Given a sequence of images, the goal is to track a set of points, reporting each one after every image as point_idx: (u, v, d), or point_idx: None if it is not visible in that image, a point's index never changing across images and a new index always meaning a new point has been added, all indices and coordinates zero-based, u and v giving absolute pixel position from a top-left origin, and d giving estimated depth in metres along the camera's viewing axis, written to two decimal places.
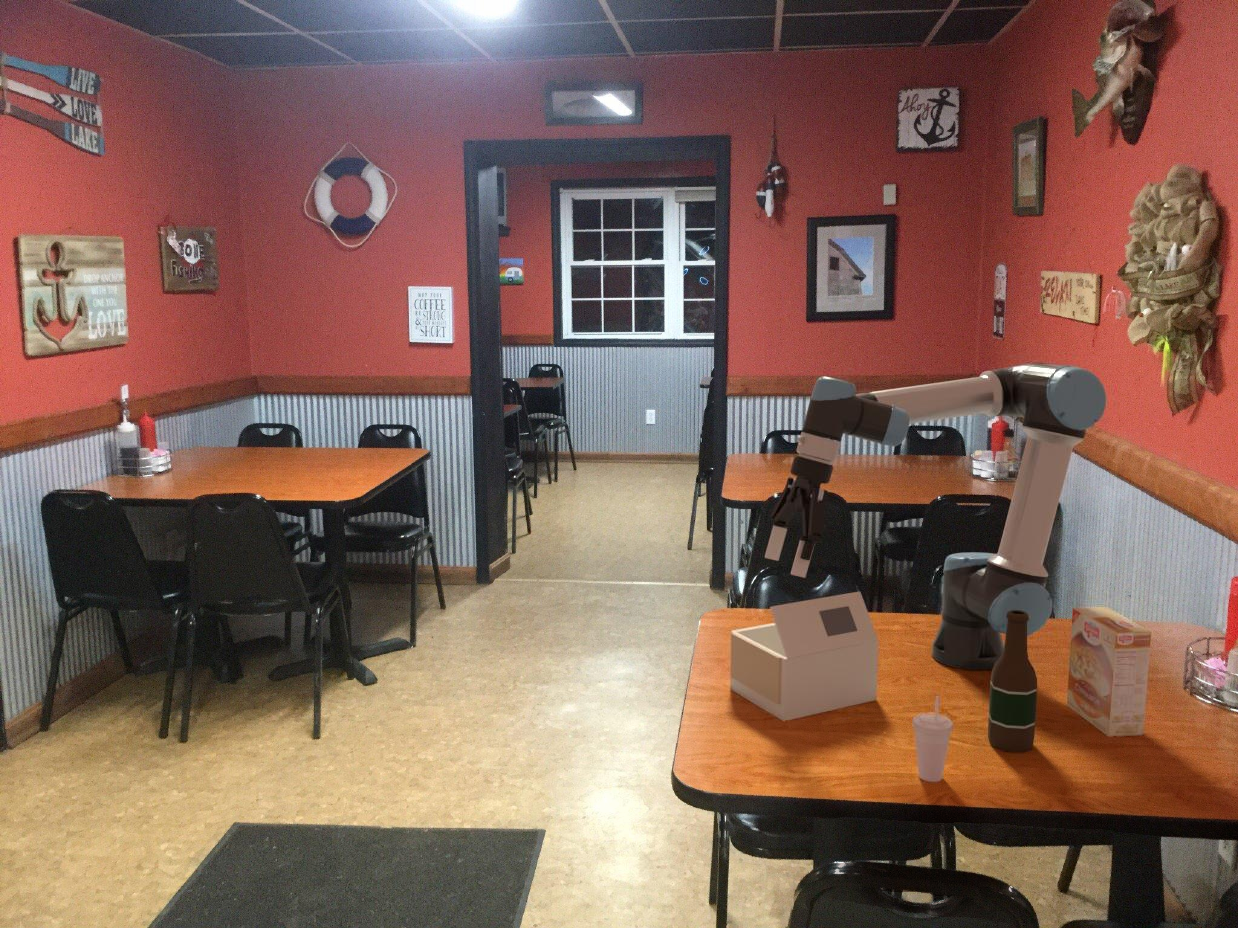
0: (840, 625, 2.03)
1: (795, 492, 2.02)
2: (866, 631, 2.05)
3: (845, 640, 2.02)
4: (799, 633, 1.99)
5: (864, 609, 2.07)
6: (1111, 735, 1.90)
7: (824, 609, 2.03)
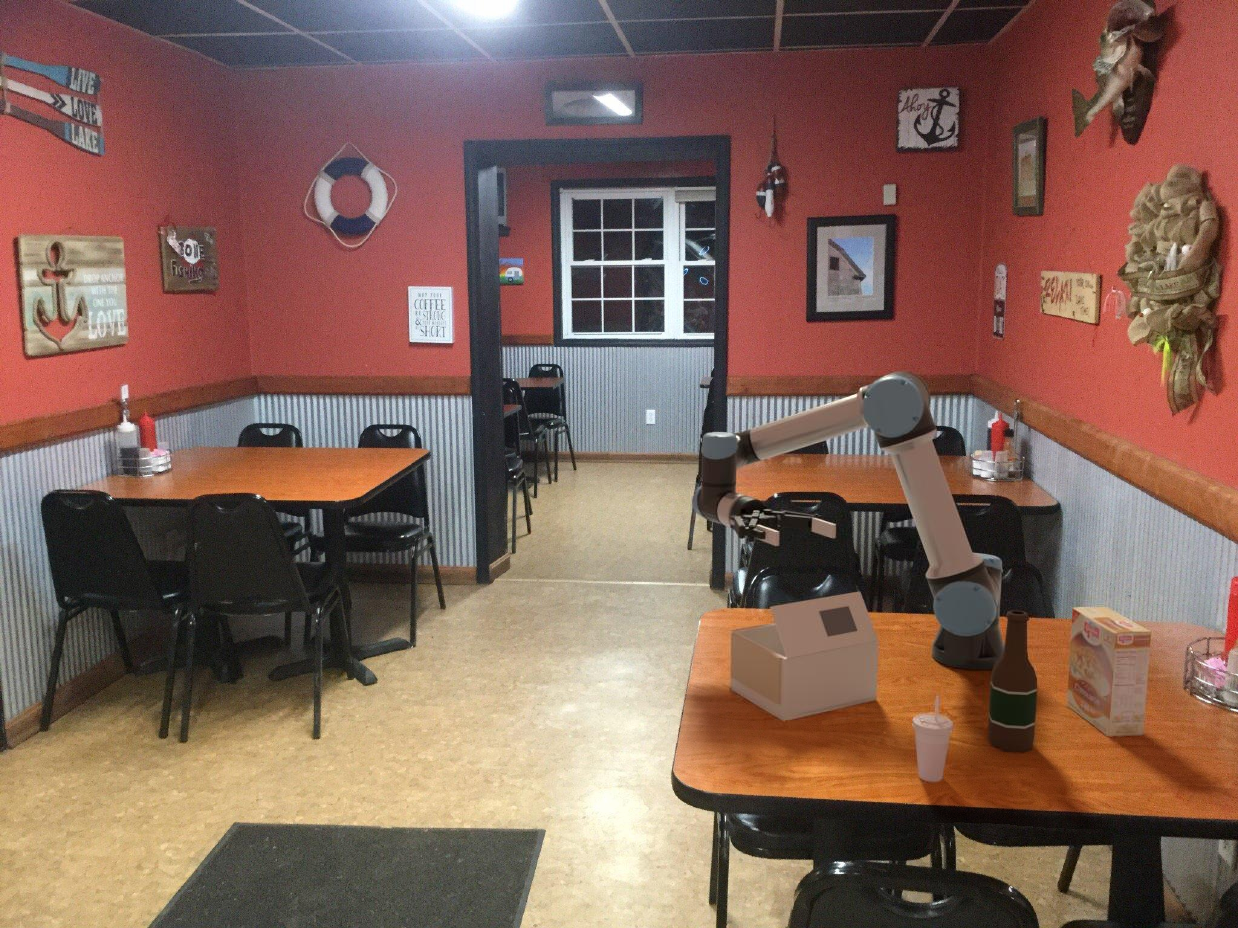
0: (840, 625, 2.03)
1: (767, 526, 2.18)
2: (866, 631, 2.05)
3: (845, 640, 2.02)
4: (799, 633, 1.99)
5: (864, 609, 2.07)
6: (1111, 735, 1.90)
7: (824, 609, 2.03)
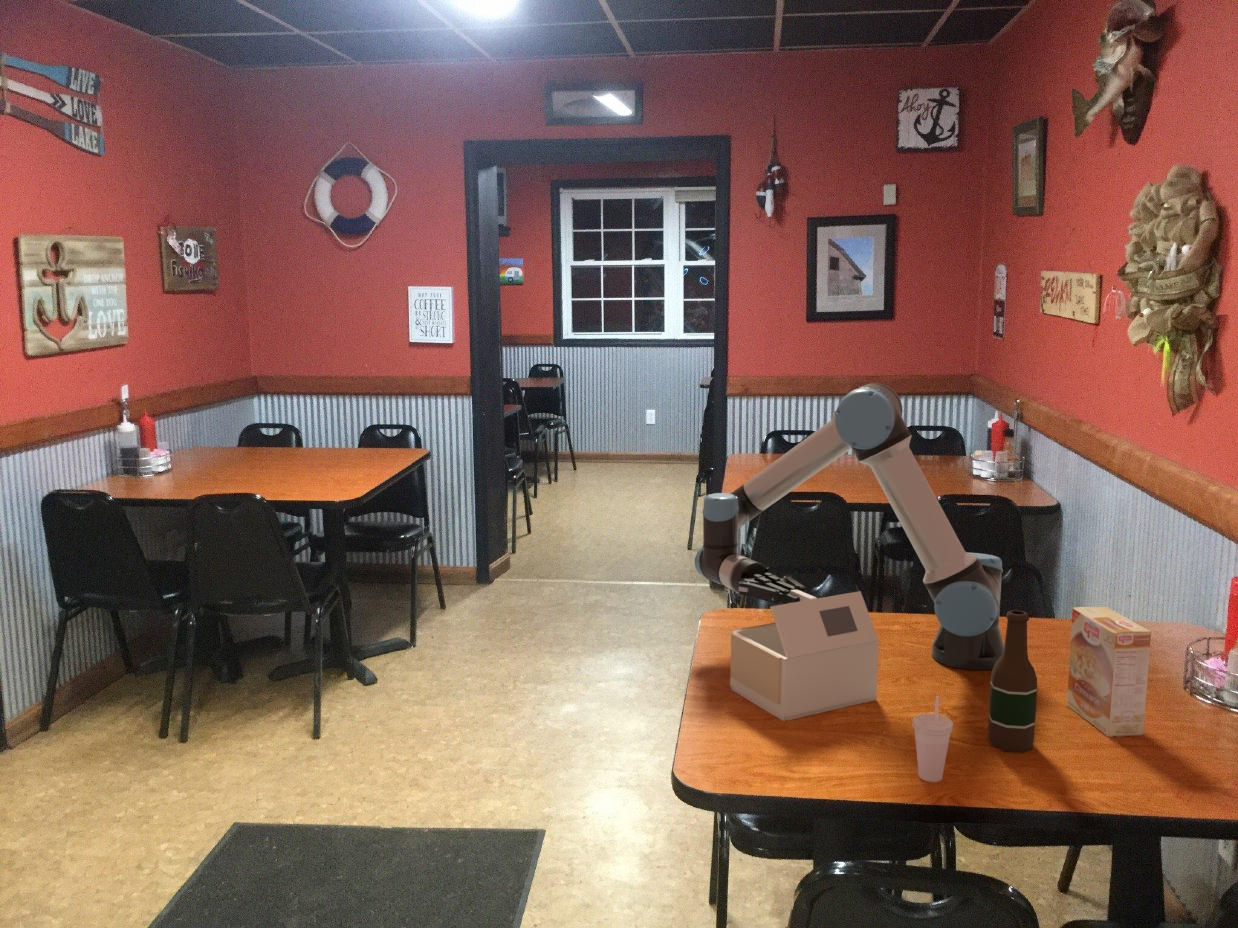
0: (840, 625, 2.03)
1: None
2: (866, 631, 2.05)
3: (845, 640, 2.02)
4: (800, 633, 1.99)
5: (864, 609, 2.07)
6: (1111, 735, 1.90)
7: (824, 609, 2.03)
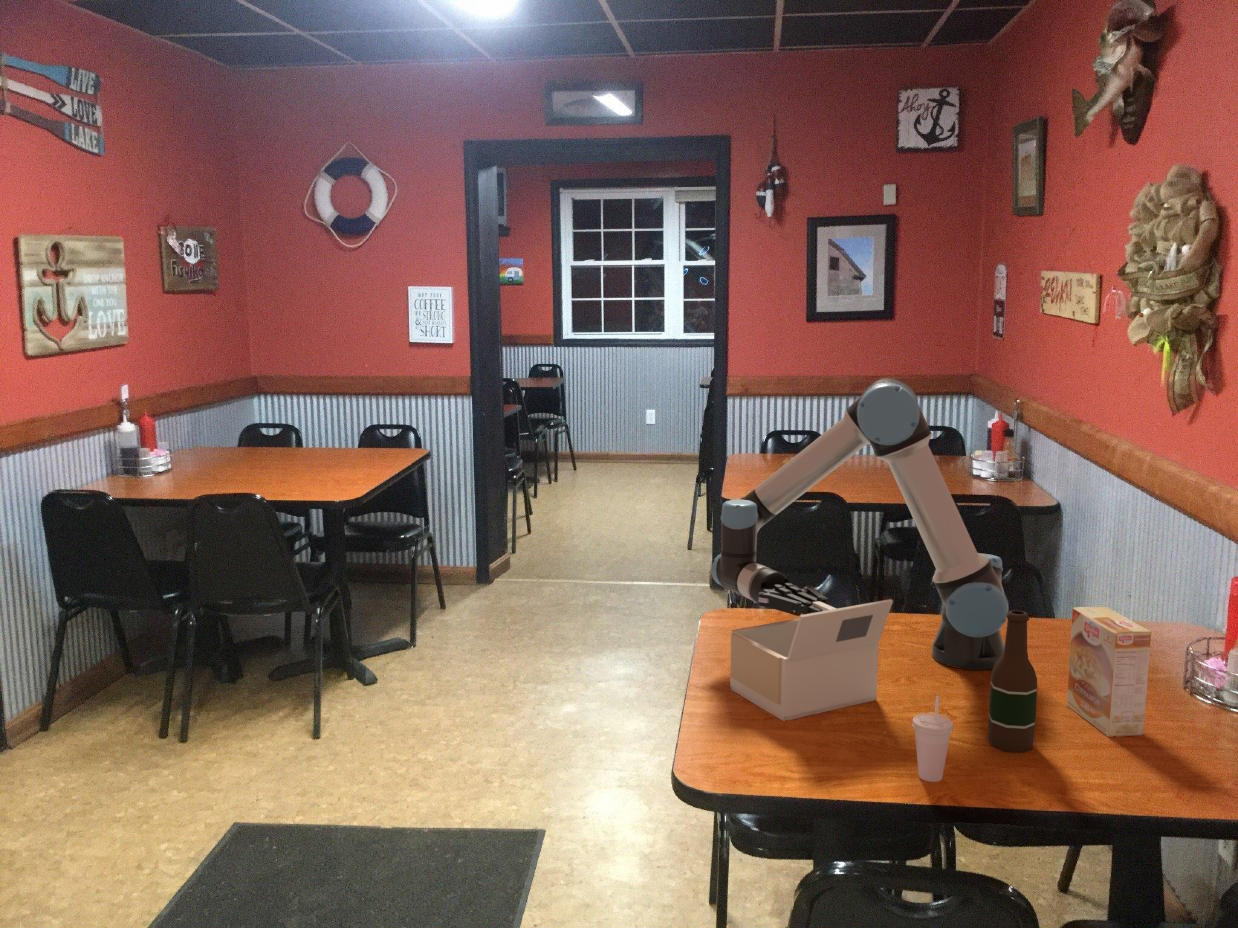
0: (853, 631, 2.00)
1: None
2: (873, 635, 2.03)
3: (849, 644, 2.01)
4: (812, 639, 1.95)
5: (885, 616, 2.02)
6: (1111, 735, 1.90)
7: (849, 618, 1.97)
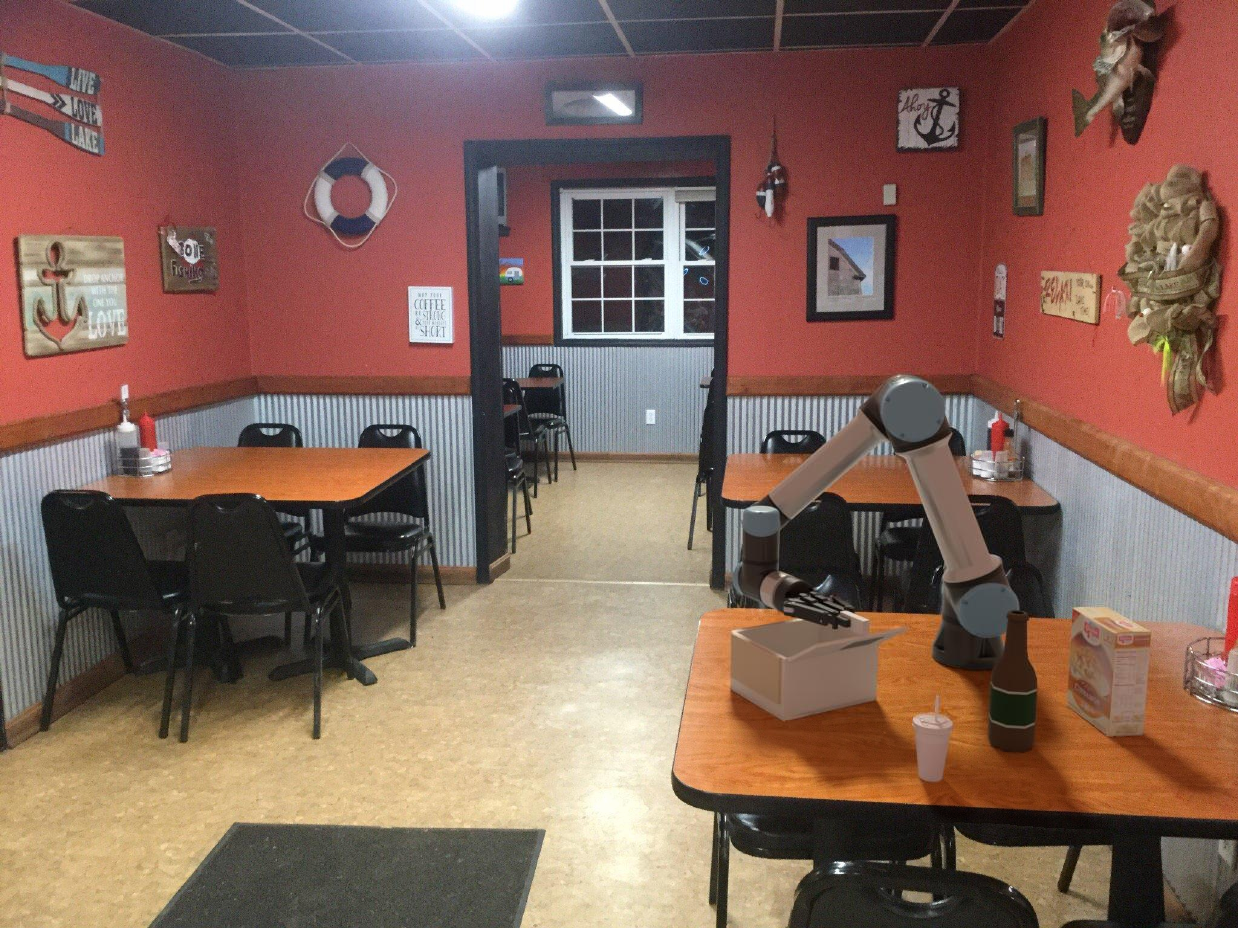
0: (859, 644, 1.98)
1: None
2: (875, 642, 2.03)
3: (850, 648, 2.01)
4: (818, 652, 1.94)
5: (894, 635, 2.00)
6: (1111, 735, 1.90)
7: (860, 641, 1.94)
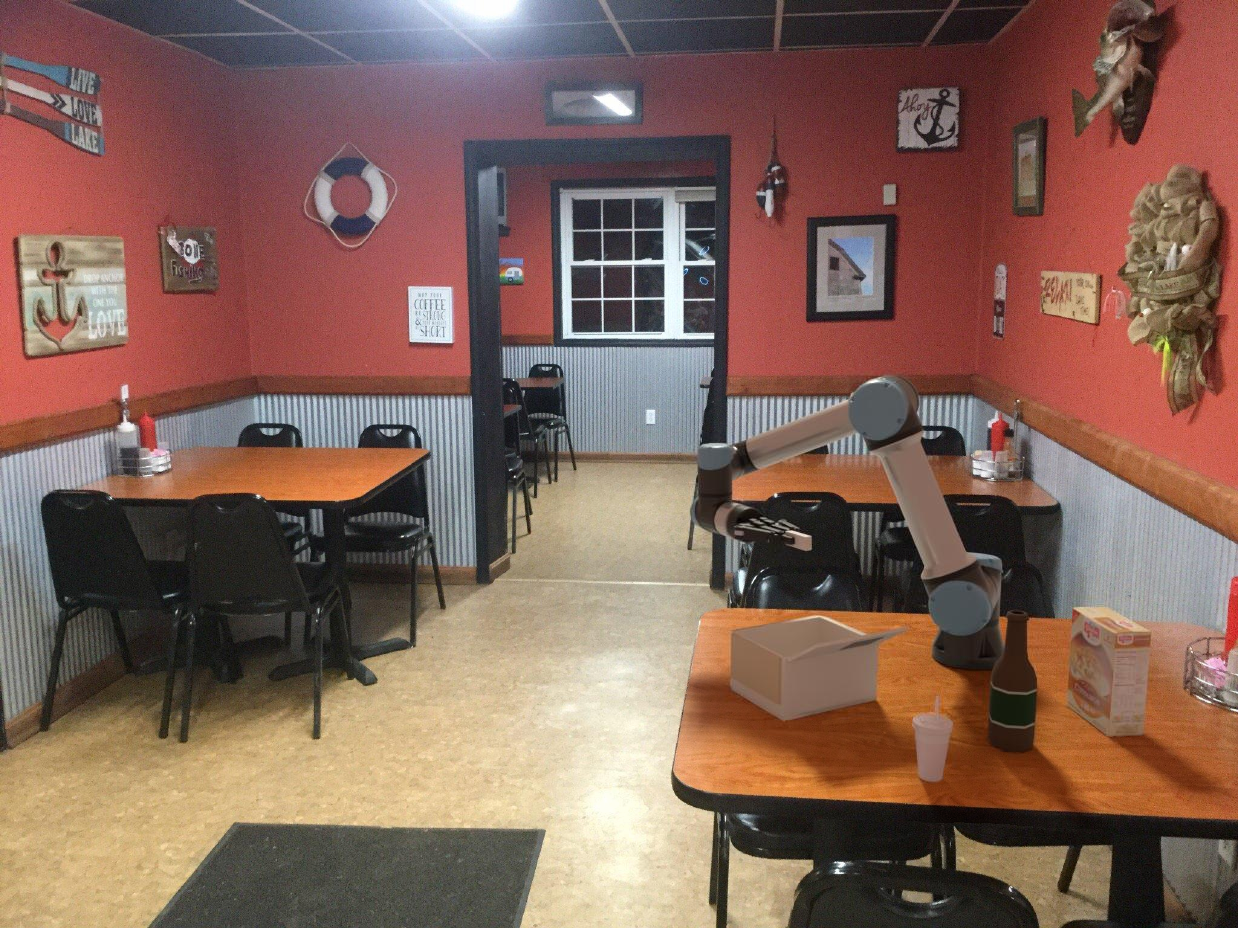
0: (859, 644, 1.98)
1: None
2: (875, 642, 2.03)
3: (850, 648, 2.01)
4: (818, 652, 1.94)
5: (894, 635, 2.00)
6: (1111, 735, 1.90)
7: (860, 641, 1.94)
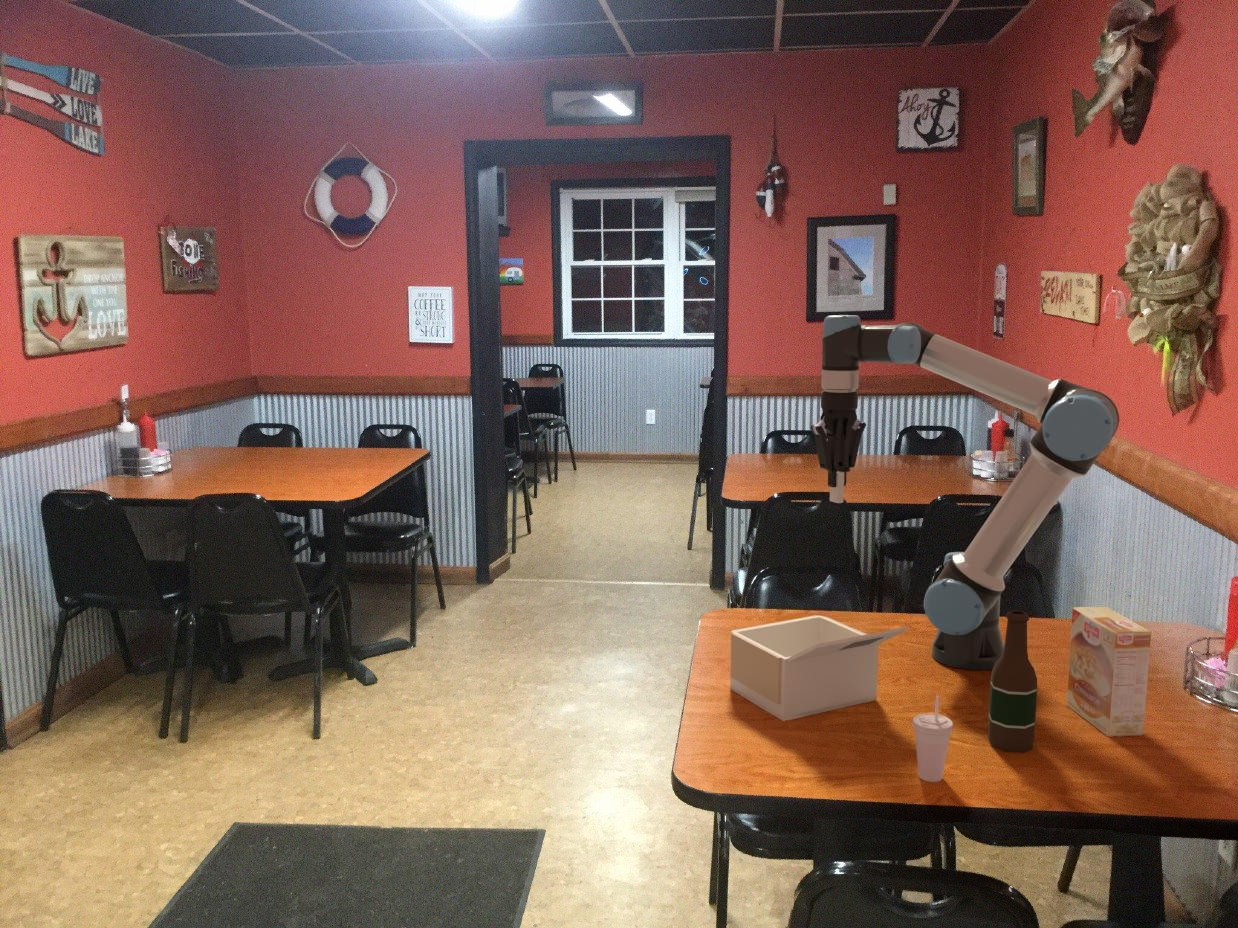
0: (859, 644, 1.98)
1: None
2: (875, 642, 2.03)
3: (850, 648, 2.01)
4: (818, 652, 1.94)
5: (894, 635, 2.00)
6: (1111, 735, 1.90)
7: (860, 641, 1.94)
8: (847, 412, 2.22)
